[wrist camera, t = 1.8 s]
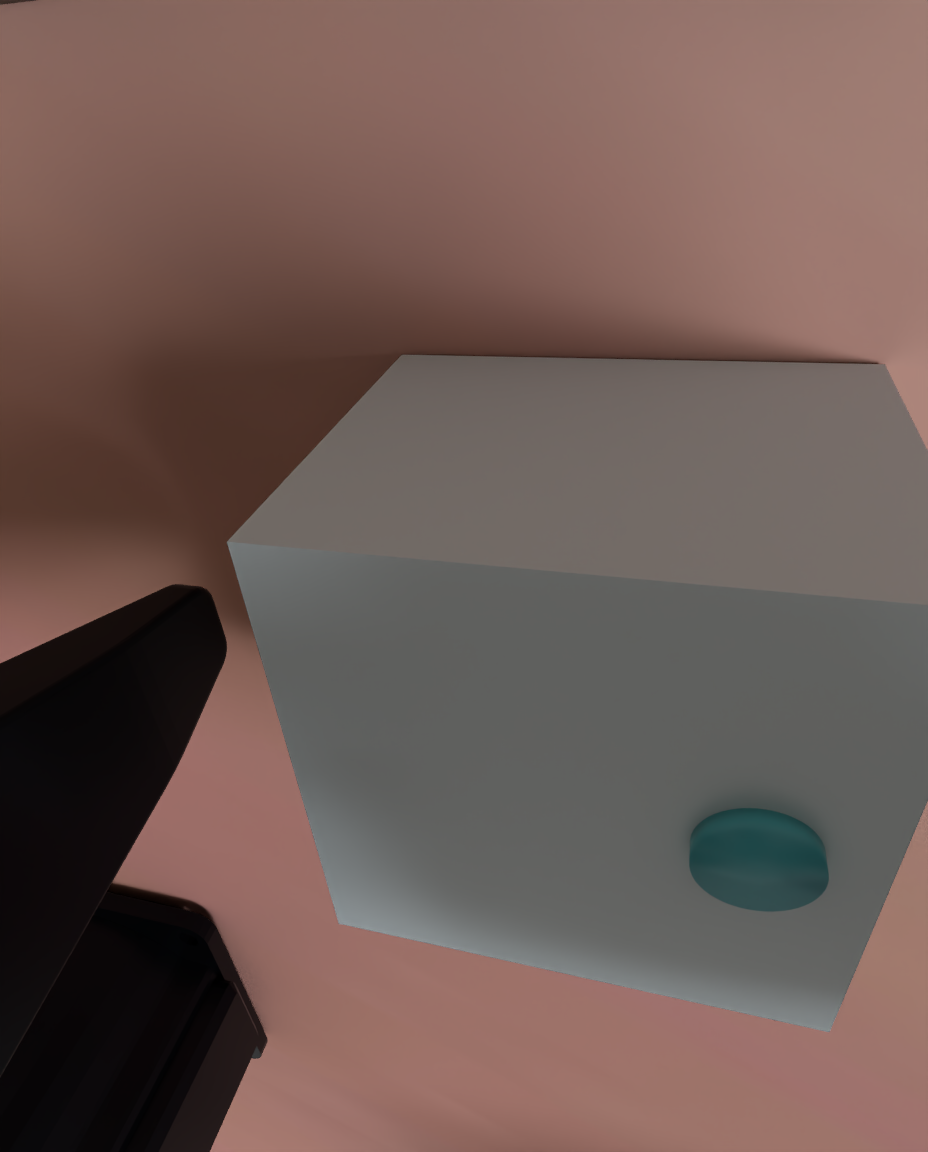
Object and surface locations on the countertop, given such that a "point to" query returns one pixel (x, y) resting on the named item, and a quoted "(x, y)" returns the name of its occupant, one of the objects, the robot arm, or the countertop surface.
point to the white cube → (609, 665)
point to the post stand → (12, 1)
